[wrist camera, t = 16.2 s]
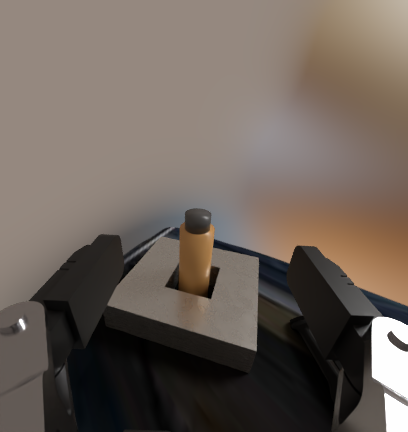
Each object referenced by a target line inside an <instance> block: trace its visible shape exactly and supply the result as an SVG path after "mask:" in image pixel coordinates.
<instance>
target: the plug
mask: <svg viewBox="0 0 408 432" xmlns="http://www.w3.org/2000/svg"><path fill="white" fill-rule="evenodd" d="M210 223H211V213H210V212H209V211H207V210H204V209H190V210H187V211H186V212H185V222H184V223H183V224H181V226H180V246H179V290H178V291H182V292H186V293H189V294H193V295H197V296H200V297H204V298H207V296H208V287H209V278H210V268H211V259H212V250H213V241H214V231H215V228H214V227H213V225H211V224H210Z"/></svg>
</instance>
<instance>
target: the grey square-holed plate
mask: <svg viewBox="0 0 408 432" xmlns="http://www.w3.org/2000/svg"><path fill="white" fill-rule="evenodd" d="M179 246H180V241H179V240H175V239H170V238H166V237H160V239H159V240H158V241H157V242H156V243H155V244H154V245H153V246H152V247H151V249H150V250H149V251H148V252H147V253H146V254H145V255H144V256H143V258H142V259H141V260H140V261H139V262H138V263H137V264H136V265H135V266H134V268H133V269H132V270H131V271H130V272H129V273H128V274H127V275H126V277H125V278H124V279H123V280H122V281H121V282H120V283H119V284H118V286H117V287H116V288H115V290H114V292H113V294H112V296H111V298H110V300H109V302H108V304H107V306H106V308H105V310H104V312H103V314H104V319H105V324H106V326H108V327H111V328H114V329H117V330H120V331H123V332H126V333H129V334H132V335H135V336H138V337H141V338H144V339H147V340H150V341H153V342H156V343H159V344H162V345H165V346H168V347H171V348H174V349H177V350H180V351H183V352H186V353H189V354H192V355H195V356H198V357H201V358H204V359H207V360H211V361H214V362H217V363H220V364H223V365H226V366H229V367H232V368H235V369H238V370H241V371H244V372H247V373H250V370H251V366H252V363H253V360H254V357H255V354H256V348H257V308H258V268H259V258H257V257H252V256H248V255H243V254H239V253H234V252H230V251H225V250H220V249H216V248H213V250H212V259H211V268H210V278H209V285H212V286H215V287H214V291H213V294H212V298H211V299H208V298H204V297H200V296H197V295H193V294H189V293H186V292H182V291H178V290H175V287H176V285H177V283H178V281H179Z"/></svg>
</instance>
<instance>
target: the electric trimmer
mask: <svg viewBox="0 0 408 432" xmlns="http://www.w3.org/2000/svg"><path fill="white" fill-rule="evenodd" d="M290 322H291V324H292V325H291V328H292V329H296V330H298V332H299V333H300V335H301V336H302V338H303V340H304V341H305V343H306V345H307V346H308V348H309V350H310V352H311V353H312V355H313V357H314V358H315V360H316V362H317V364H318V365H319V367H320V369H321V370H322V372H323V374H324V375H325V377H326V379H327V381H328V383H329V388H330V395H331V398H332V400H333V402H334V404H335V400H336V392H337V385H338V377H339V371H340V369H341V368H342V365H341V363H340V362H339V360H325V359H324V357H323V355H322V353H321V350H320V348H319V346H318V344H317V342H316V340H315V338H314V336H313V334H312V332H311V330H310V328H309V326H308V324H307V322H306V320H305V318H304V316H299V317H296V318H294V319H291V320H290Z"/></svg>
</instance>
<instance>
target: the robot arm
mask: <svg viewBox="0 0 408 432" xmlns="http://www.w3.org/2000/svg"><path fill="white" fill-rule="evenodd" d="M123 270H124V259H123V252H122V246H121V239H120V237H119V236H118V235H104V234H101V235H99V236H98V237H97V238H96V239H95V241H94V242H93V243H92V244H91V245H86V246H84V247H82V248H81V249H79V250H78V251H76V252H74V253H73V255H72V256H71V257H70V258H69V259H68V260H67V262H66V263H64V264H63V265H62V266H61V267H60V269H59V270H57V271H56V273H55V274H54V275H53V276H52V277H51V278H50V279H49V280H48V281H47V282H46V283H45V284H44V285H43V286H42V287H41V288H40V290H39V291H38V292H37V293H36V294H35V295H34V296H33V297H32V298H31V299H30V300H29V301H26V302H21V303H17V304H14V305H11V306H9V307H7V308H5V309H3V310H1V311H0V432H78V429H77V425H76V420H75V414H74V407H73V400H72V393H71V386H70V379H69V373H68V366H67V361H66V358H67V356H68V355H69V353H70V351H71V349H85V347H86V345H87V343H88V341H89V339H90V337H91V335H92V334H93V332H94V330H95V328H96V326H97V324H98V322H99V320H100V318H101V316H102V314H103V312H104V310H105V308H106V306H107V304H108V302H109V300H110V298H111V296H112V294H113V292H114V290H115V288H116V287H117V285H118V283H119V281H120V279H121V277H122V274H123ZM287 282H288V285H289V288H290V290H291V292H292V294H293V296H294V298H295V300H296V302H297V304H298V306H299V308H300V310H301V312H302V314H303V316H304V318H305V320H306V322H307V324H308V326H309V328H310V330H311V332H312V334H313V336H314V338H315V340H316V342H317V344H318V346H319V348H320V350H321V353H322V355H323V357H324V359H325V360H339V362H340V363H341V365H342V368H341V369H340V371H339V377H338V385H337V392H336V400H335V407H334V415H333V423H332V428H331V432H408V326H406V325H405V324H403V323H401V322H399V321H396V320H394V319H390V318H386V317H383V316H382V314H381V313H380V312H379V311H378V310H377V309H376V308H375V307H374V305H373V304H372V303H371V302H370V301H369V300H368V299H367V298H366V296H365V295H364V294H363V293H362V292H361V291H360V290H359V289H358V287H357V286H354V283H353V282H352V281H351V279H350V278H347V275H346V274H345V273H344V272H343V271H342V269H341V268H340V267H339V266H338V265H336V264H335V263H333V262H332V261H330V260H329V259H327V258H325V257H324V256H323V254H322V253H321V252H320V251H319V250H318V248H316V247H314V246H312V247H311V246H296V247H295V249H294V252H293V255H292V258H291V261H290V264H289V268H288V271H287ZM124 432H170V431H149V430H124Z"/></svg>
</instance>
